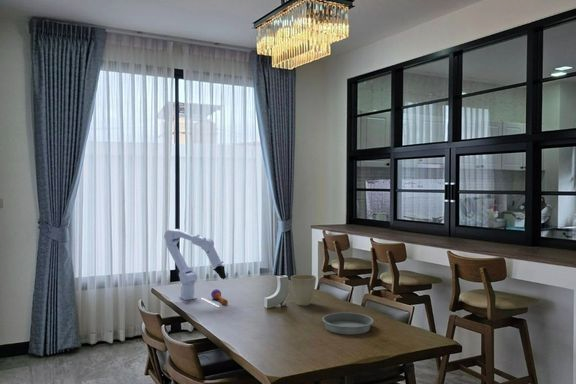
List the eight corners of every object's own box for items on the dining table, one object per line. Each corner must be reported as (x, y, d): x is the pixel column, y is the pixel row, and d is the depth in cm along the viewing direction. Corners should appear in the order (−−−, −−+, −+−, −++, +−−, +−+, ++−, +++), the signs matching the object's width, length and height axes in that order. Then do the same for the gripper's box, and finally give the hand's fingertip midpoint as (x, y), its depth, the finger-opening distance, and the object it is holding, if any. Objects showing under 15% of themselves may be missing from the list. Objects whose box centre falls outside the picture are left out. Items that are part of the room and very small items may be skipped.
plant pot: (310, 300, 291) (310, 273, 291) (320, 306, 277) (320, 278, 277) (287, 302, 286) (287, 275, 286) (295, 308, 272) (295, 279, 272)
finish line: (200, 298, 296) (200, 298, 296) (203, 298, 297) (203, 297, 297) (217, 307, 274) (217, 307, 274) (221, 306, 275) (221, 306, 275)
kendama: (219, 299, 278) (209, 289, 296) (221, 308, 279) (210, 298, 297) (229, 296, 281) (218, 287, 299) (230, 305, 282) (220, 296, 300)
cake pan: (333, 338, 220) (333, 328, 220) (315, 323, 244) (315, 314, 244) (382, 333, 227) (382, 323, 226) (360, 319, 250) (360, 310, 250)
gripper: (218, 253, 282) (228, 274, 280) (221, 255, 296) (231, 275, 294) (207, 259, 281) (217, 280, 279) (211, 261, 296) (220, 281, 293)
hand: (223, 278), depth 286 cm, fingers open, 7 cm apart
